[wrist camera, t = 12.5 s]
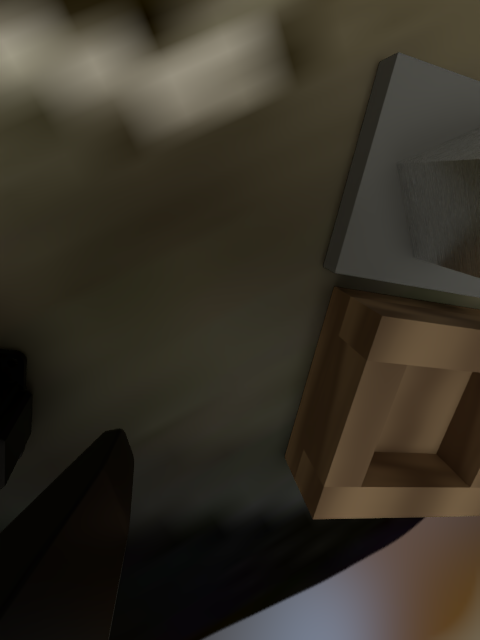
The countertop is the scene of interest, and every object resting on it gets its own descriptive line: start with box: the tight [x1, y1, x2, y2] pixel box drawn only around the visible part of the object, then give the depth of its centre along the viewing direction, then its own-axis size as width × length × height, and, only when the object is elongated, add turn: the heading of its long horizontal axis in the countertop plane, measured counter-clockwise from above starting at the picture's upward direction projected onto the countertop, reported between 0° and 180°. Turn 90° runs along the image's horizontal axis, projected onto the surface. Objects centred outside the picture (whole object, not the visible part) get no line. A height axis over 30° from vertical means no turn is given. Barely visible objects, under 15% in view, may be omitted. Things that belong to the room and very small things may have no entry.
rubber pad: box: [323, 52, 480, 298], centre depth 20 cm, size 10×10×2 cm
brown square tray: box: [285, 286, 480, 519], centre depth 23 cm, size 12×12×5 cm
